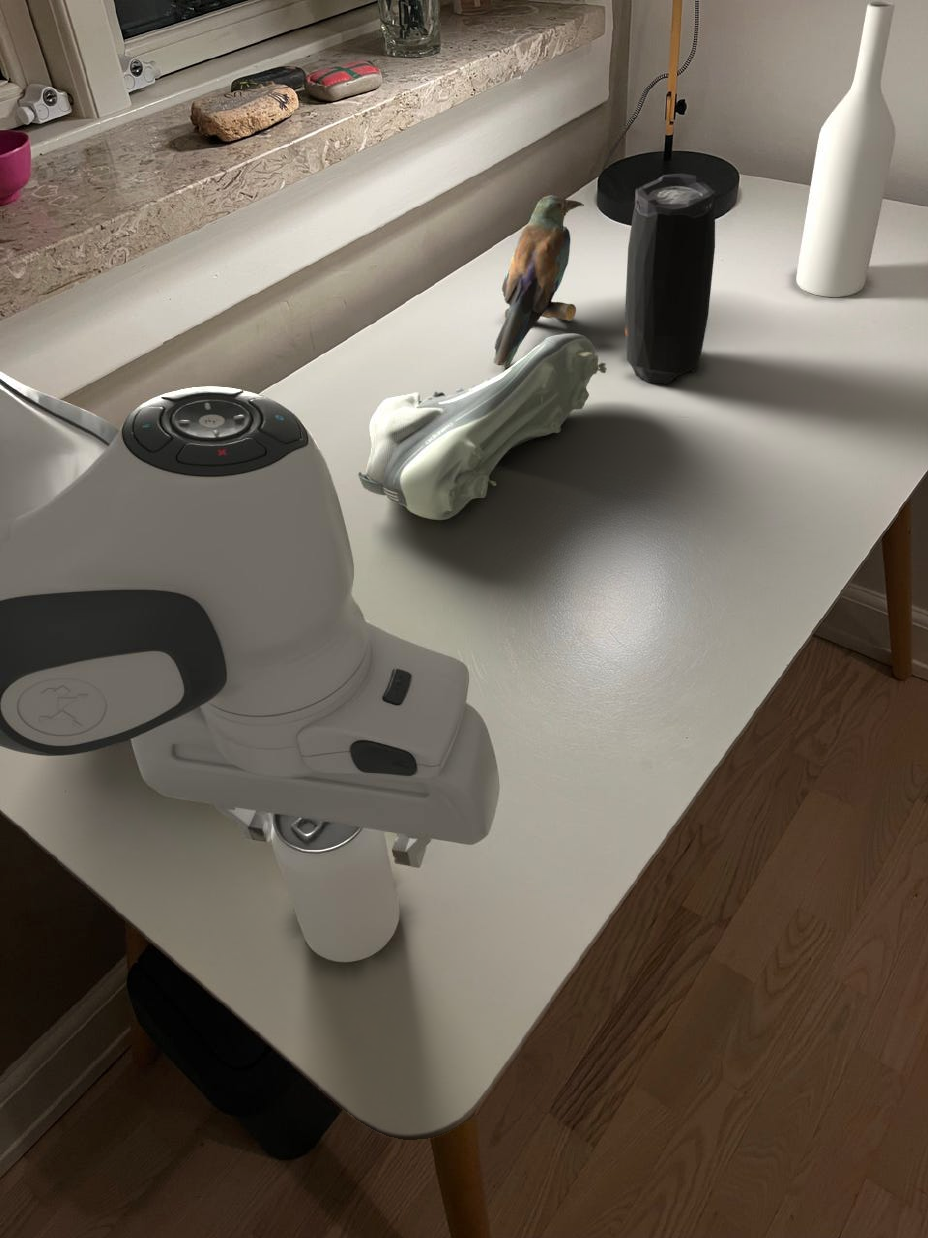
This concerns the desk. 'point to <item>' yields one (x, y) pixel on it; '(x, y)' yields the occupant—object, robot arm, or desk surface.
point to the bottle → (850, 173)
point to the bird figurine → (535, 276)
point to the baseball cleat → (474, 428)
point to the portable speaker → (669, 276)
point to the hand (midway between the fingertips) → (335, 843)
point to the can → (337, 885)
